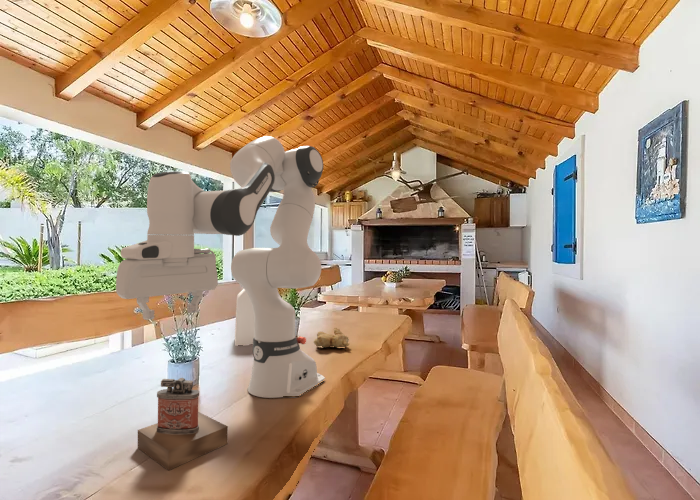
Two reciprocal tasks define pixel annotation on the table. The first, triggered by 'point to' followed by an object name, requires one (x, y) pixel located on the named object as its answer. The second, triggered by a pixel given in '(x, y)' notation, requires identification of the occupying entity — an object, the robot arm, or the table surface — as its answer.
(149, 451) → the walnut base
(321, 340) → the ginger root
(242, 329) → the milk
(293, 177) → the robot arm
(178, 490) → the table surface
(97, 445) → the table surface
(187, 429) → the lighter
